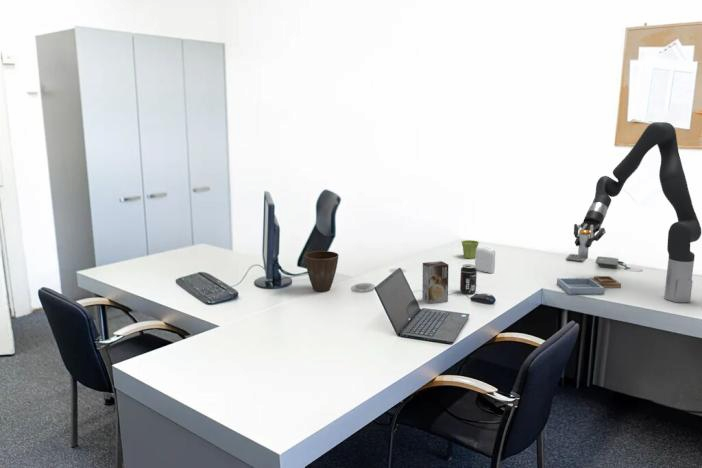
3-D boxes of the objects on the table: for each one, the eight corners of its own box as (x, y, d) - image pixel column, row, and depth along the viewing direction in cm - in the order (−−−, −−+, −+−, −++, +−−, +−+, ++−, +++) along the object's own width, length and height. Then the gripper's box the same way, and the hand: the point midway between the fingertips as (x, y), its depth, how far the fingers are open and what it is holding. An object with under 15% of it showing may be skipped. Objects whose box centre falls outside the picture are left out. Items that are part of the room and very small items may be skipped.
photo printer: (473, 269, 286) (474, 245, 284) (478, 268, 289) (479, 244, 286) (490, 274, 278) (491, 249, 276) (495, 272, 281) (497, 248, 278)
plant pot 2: (457, 256, 313) (458, 240, 311) (472, 254, 316) (473, 239, 314) (465, 260, 304) (466, 244, 303) (481, 259, 307) (482, 243, 305)
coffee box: (441, 297, 244) (442, 260, 241) (448, 301, 238) (449, 264, 235) (421, 299, 241) (422, 262, 238) (427, 304, 235) (428, 266, 232)
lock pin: (589, 258, 249) (592, 231, 246) (579, 258, 249) (581, 231, 246) (585, 256, 253) (588, 229, 250) (575, 256, 253) (577, 229, 251)
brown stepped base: (620, 287, 255) (621, 281, 255) (598, 288, 255) (598, 281, 255) (610, 281, 265) (611, 275, 264) (589, 281, 265) (589, 275, 264)
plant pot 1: (332, 283, 265) (332, 249, 262) (343, 292, 251) (343, 257, 248) (301, 286, 260) (300, 252, 256) (311, 296, 246) (310, 260, 243)
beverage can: (457, 290, 252) (457, 264, 250) (470, 289, 255) (471, 263, 252) (465, 295, 246) (466, 268, 244) (478, 293, 248) (480, 266, 246)
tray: (603, 294, 246) (604, 288, 245) (569, 294, 246) (569, 288, 245) (589, 284, 261) (590, 278, 260) (556, 284, 261) (557, 278, 260)
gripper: (578, 207, 257) (563, 238, 251) (610, 211, 247) (595, 243, 241) (582, 218, 261) (568, 248, 256) (614, 222, 251) (600, 253, 246)
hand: (581, 245), depth 248 cm, fingers closed on lock pin, 4 cm apart
